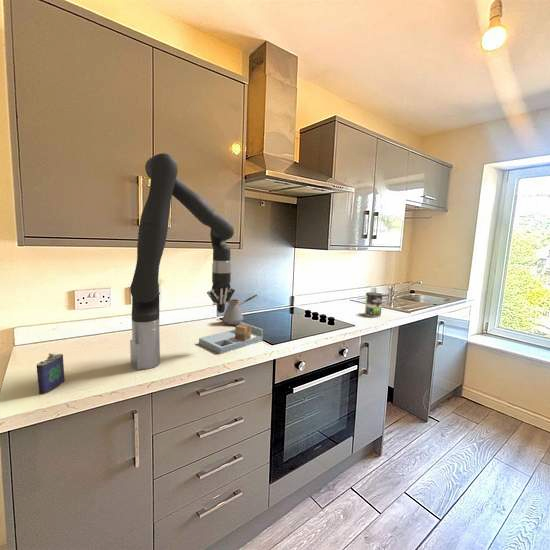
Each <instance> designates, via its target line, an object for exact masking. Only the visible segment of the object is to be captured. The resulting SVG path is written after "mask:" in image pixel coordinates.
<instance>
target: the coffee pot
mask: <svg viewBox="0 0 550 550" xmlns="http://www.w3.org/2000/svg"><path fill="white" fill-rule="evenodd" d="M254 298H257V299H258V298H259V296H258V294H255V295H252V296H249V298H247V299H245V300H244V301H242V302H240V300H239V299H234V298H232V299H231V298H230V300H229V302H227V303H228V305H227V307H226V308H225V310H224V314H223V316H222V320H223V322H224V323H225V324H226V325H227V326H228V325H229V326H237V325H239V322H243V321H244V315H243V314H242V311H241V309H240V306H241V305H243V304H244V303H247V302H248V301H250V300H253V299H254Z"/></svg>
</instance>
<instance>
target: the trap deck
mask: <svg viewBox="0 0 550 550" xmlns="http://www.w3.org/2000/svg"><path fill="white" fill-rule="evenodd" d="M241 323H243V324H248V323H245V322H243V321H242V322H239V324H241ZM239 324H238V325H239ZM248 325H251V324H248ZM263 336H264V329H263V328H260V327H257V326H254V325H251V338H250V339H248V340H246V341H242V340H237V339H235V328H234V329H230V330H225V331H222V332H218V333H214V334H210V335H206V336H202V337H199V338H198V344H199V345H201V346H203V347H205V348H207V349H209V350H212V351H214V352H215V353H218V354H220V355H221V354H225V353H228V351H229V352H232V351H235V350H237V349H240V348H244V347H247V345H248V346H250V344H251V345H254V344H256V342H257V343H259V341H260V342H262V341H261V340H263V341H264V339H263V338H264V337H263ZM253 343H254V344H253ZM231 350H232V351H231Z"/></svg>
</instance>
